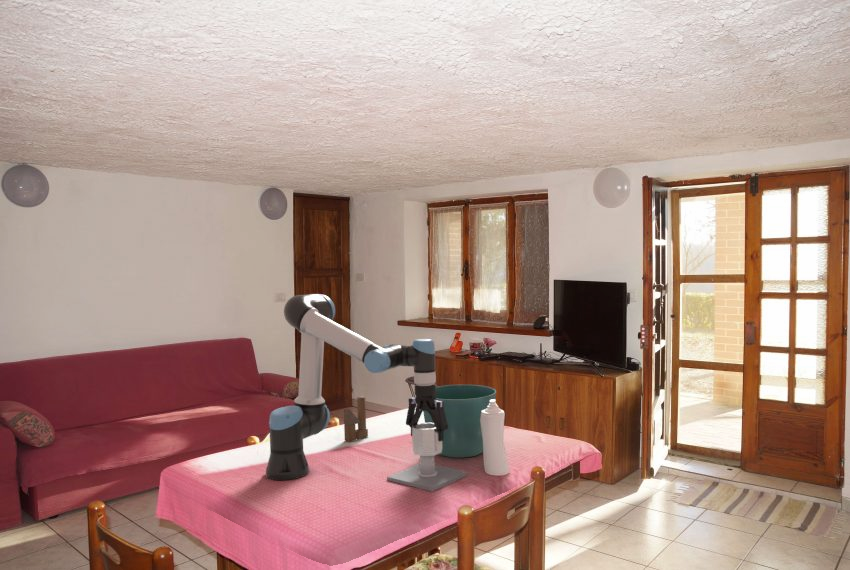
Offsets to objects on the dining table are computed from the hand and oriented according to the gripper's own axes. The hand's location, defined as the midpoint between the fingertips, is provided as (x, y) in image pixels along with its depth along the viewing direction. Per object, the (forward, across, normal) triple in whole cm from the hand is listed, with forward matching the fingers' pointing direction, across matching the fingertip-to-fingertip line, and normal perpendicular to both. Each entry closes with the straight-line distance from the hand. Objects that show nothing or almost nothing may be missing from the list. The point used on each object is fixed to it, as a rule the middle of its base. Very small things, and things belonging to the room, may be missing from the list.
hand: (427, 447), depth 213 cm
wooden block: (+10, +58, -23) cm, 63 cm away
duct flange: (+10, 0, 0) cm, 10 cm away
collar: (+1, 0, 0) cm, 1 cm away
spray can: (+11, -15, -20) cm, 27 cm away
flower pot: (+11, +9, -32) cm, 35 cm away
